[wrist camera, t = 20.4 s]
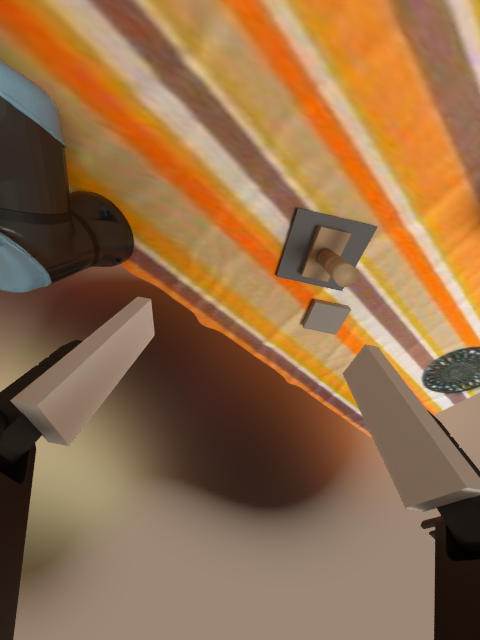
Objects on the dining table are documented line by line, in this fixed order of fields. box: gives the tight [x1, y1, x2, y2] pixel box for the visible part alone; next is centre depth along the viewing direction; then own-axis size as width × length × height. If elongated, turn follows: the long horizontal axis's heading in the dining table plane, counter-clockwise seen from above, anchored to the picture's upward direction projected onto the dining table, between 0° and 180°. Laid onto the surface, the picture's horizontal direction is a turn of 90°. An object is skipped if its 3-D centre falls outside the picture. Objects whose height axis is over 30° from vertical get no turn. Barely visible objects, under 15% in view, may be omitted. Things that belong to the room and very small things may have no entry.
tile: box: [302, 299, 351, 334], centre depth 48 cm, size 2×8×9 cm
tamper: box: [300, 226, 359, 287], centre depth 34 cm, size 6×10×14 cm, turn 169°
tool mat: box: [276, 208, 377, 291], centre depth 40 cm, size 16×14×1 cm
